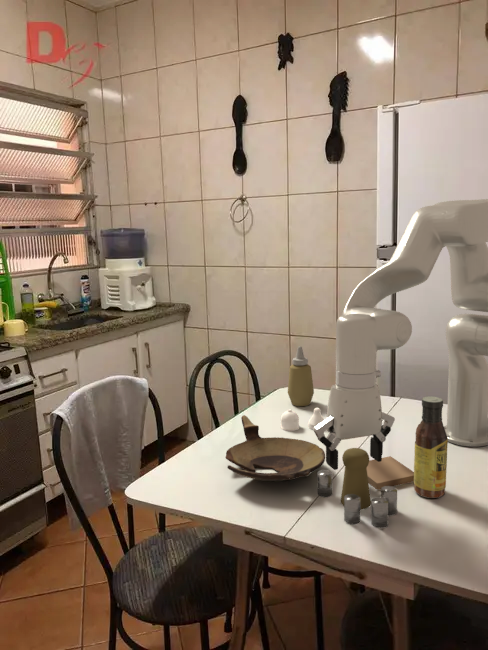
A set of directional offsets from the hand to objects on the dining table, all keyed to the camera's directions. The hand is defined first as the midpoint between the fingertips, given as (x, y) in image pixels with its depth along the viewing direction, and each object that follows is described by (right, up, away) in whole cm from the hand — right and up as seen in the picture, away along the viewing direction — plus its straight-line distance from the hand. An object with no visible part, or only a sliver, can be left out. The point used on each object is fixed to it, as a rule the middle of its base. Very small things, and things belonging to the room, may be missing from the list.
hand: (354, 462), depth 107 cm
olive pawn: (+1, -9, +2) cm, 9 cm away
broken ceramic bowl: (-15, -6, +18) cm, 24 cm away
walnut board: (+9, -6, +12) cm, 17 cm away
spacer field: (+1, -9, +1) cm, 9 cm away
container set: (-2, -1, +42) cm, 42 cm away
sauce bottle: (+16, -7, +5) cm, 19 cm away
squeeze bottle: (-4, +3, +61) cm, 61 cm away
